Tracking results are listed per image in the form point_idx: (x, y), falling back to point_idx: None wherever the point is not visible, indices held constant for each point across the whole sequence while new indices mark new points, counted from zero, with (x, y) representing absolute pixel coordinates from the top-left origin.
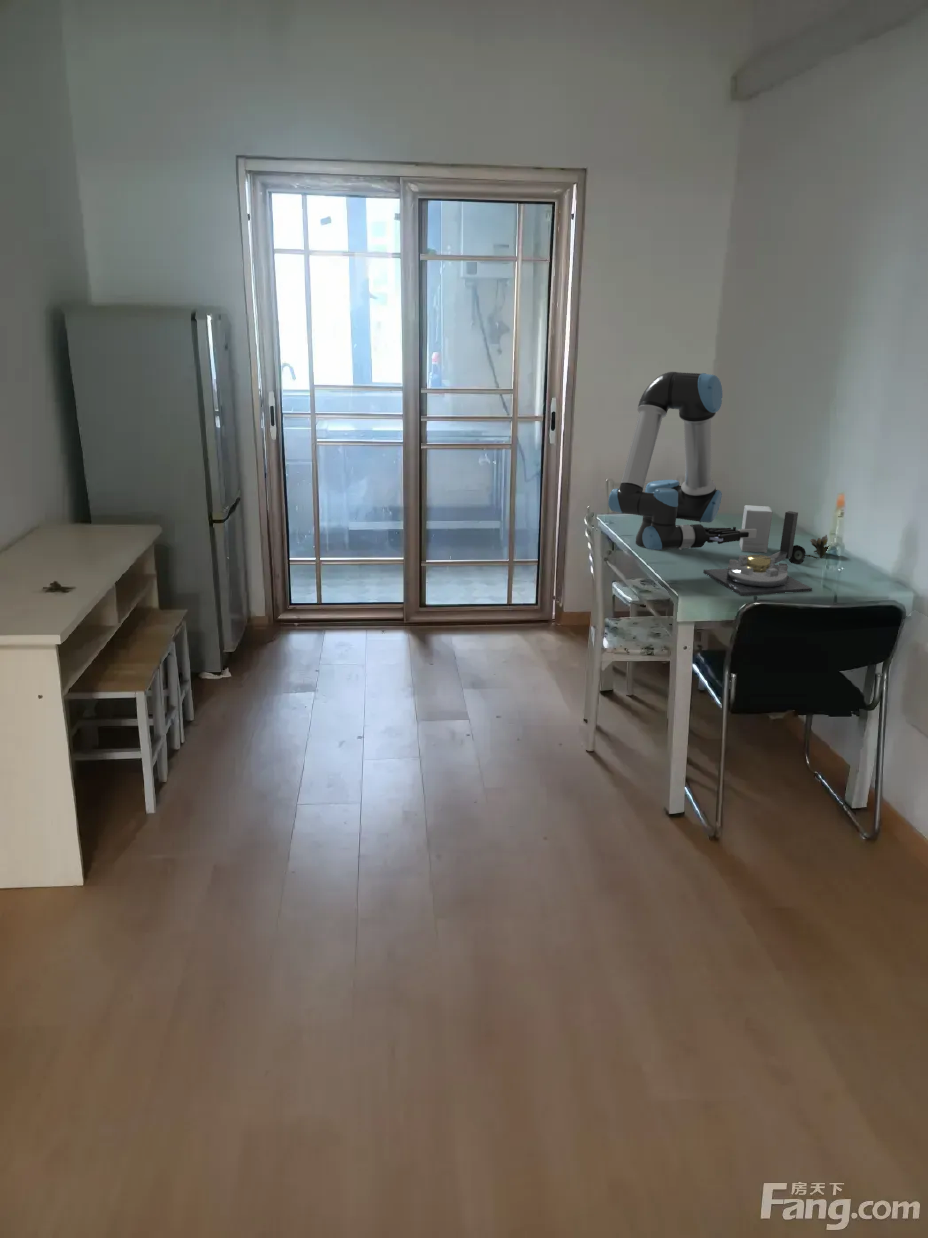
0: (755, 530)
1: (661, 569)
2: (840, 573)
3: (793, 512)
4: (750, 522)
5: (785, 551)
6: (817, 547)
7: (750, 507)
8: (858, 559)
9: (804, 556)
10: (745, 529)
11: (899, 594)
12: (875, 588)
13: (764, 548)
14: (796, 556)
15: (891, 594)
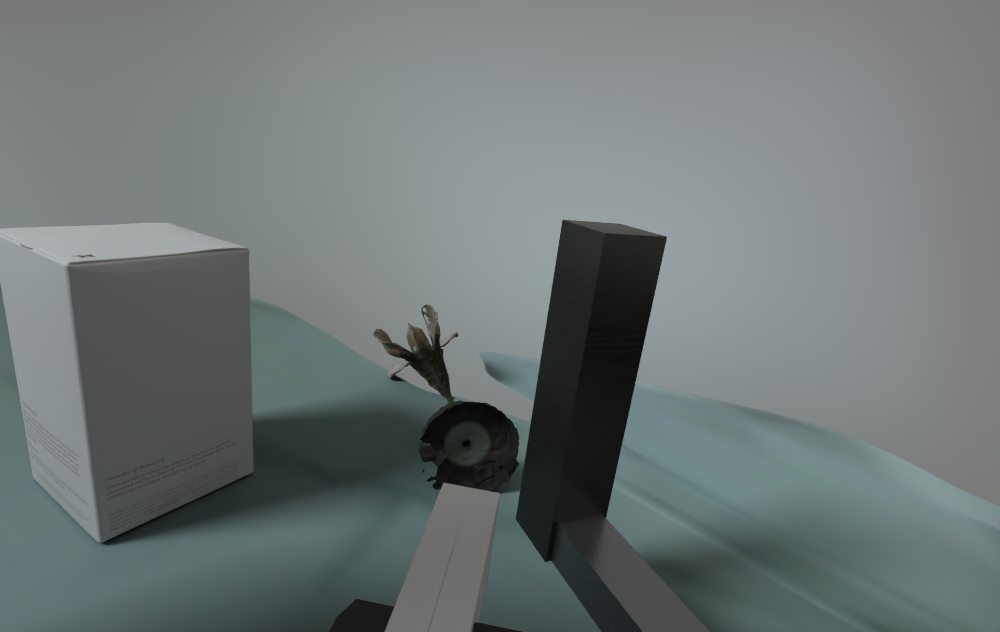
0: (496, 514)
1: None
2: (651, 459)
3: (615, 227)
4: (119, 346)
5: (588, 513)
6: (425, 361)
7: (63, 239)
8: (507, 357)
9: (516, 446)
10: (429, 599)
11: (923, 481)
12: (860, 491)
13: (239, 459)
14: (458, 453)
15: (936, 498)
